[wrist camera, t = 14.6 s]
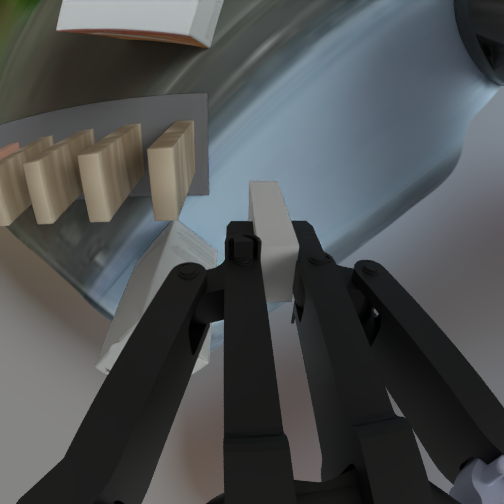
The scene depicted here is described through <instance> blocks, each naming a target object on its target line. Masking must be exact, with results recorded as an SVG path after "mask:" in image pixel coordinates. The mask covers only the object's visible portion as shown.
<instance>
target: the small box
mask: <svg viewBox="0 0 504 504" xmlns="http://www.w3.org/2000/svg"><path fill="white" fill-rule="evenodd" d="M223 1H224V0H63V2H62V6H61V10H60V15H59V19H58V24H57V28H56V31H57V32H73V33H84V34H92V35H100V36H108V37H114V38H119V39H126V40H149V41H160V42H170V43H177V44H185V45H192V46H198V47H203V48H210V46H211V42H212V39H213V35H214V32H215V28H216V25H217V21H218V18H219V14H220V11H221V8H222V5H223Z"/></svg>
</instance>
